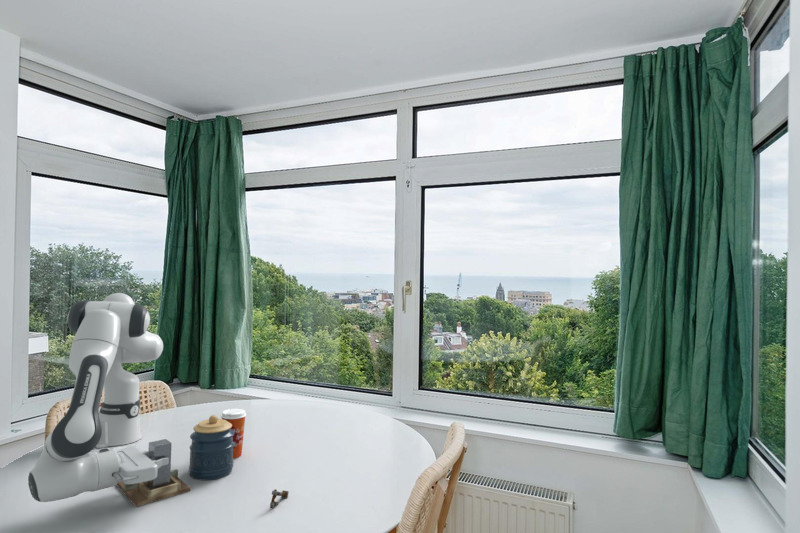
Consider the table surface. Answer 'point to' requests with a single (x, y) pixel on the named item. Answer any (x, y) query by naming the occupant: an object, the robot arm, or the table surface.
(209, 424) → the canister
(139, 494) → the door board
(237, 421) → the coffee cup
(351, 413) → the table surface
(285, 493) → the wooden post with brackets
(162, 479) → the bar
